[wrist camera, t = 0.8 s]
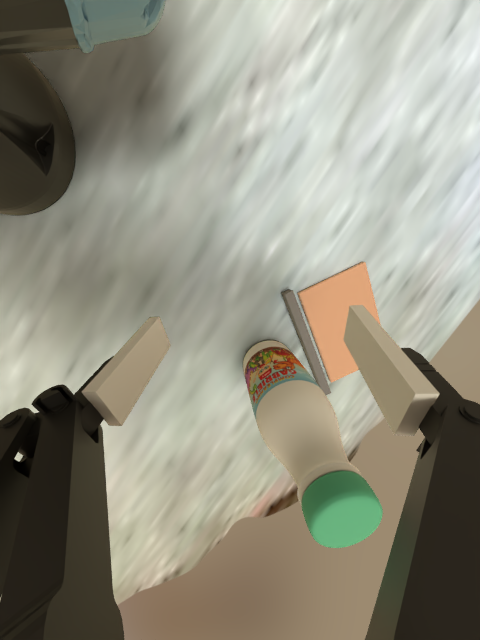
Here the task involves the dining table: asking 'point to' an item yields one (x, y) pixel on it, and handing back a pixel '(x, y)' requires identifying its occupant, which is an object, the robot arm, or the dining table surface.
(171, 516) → the dining table surface
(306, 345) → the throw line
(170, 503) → the dining table surface
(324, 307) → the tile
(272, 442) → the milk bottle
